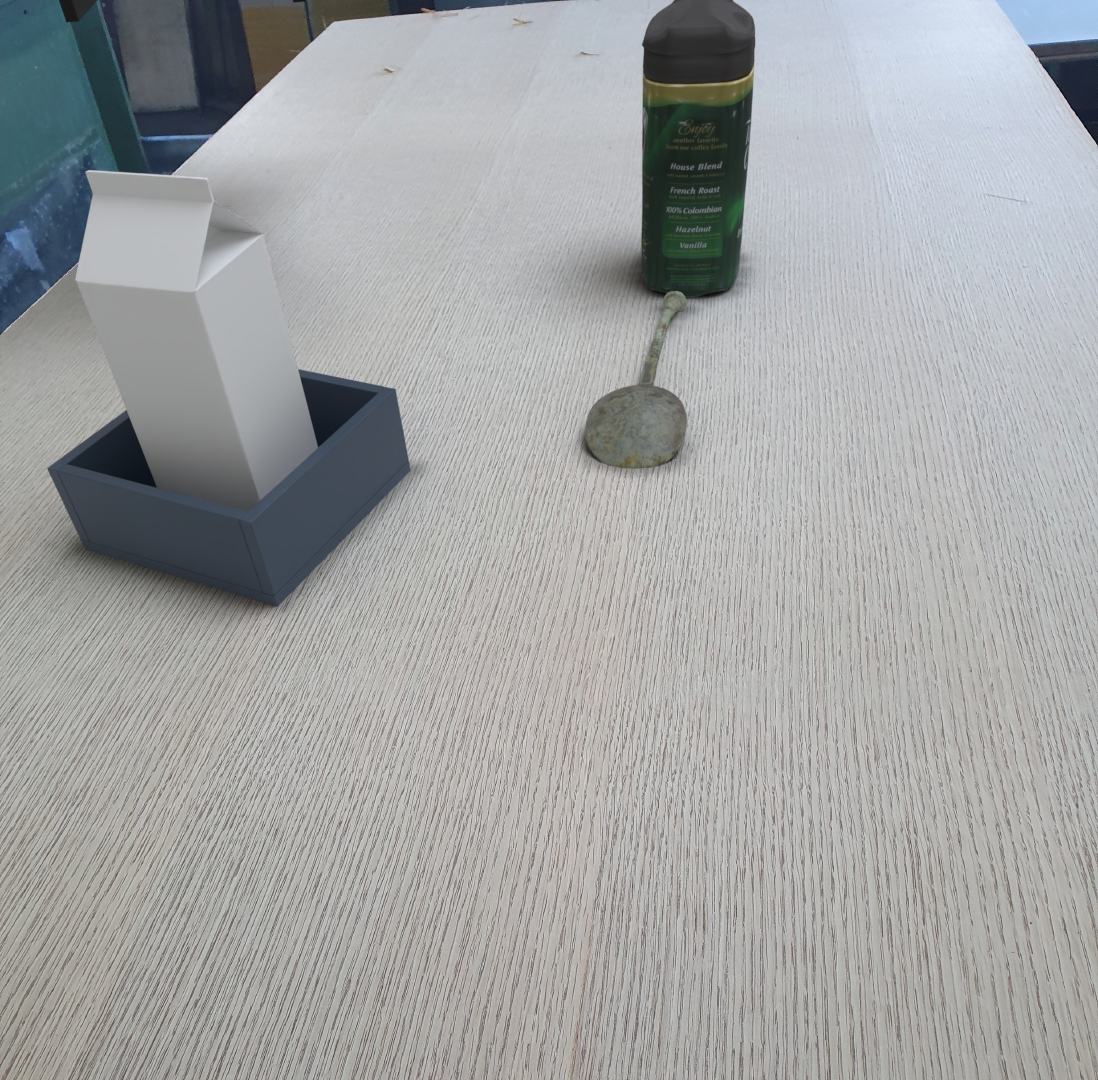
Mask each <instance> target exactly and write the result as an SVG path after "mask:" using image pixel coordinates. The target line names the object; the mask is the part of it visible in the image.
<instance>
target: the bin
mask: <svg viewBox="0 0 1098 1080" xmlns="http://www.w3.org/2000/svg"><path fill="white" fill-rule="evenodd" d="M298 371H299V375H300V379H301V383H302V387H303V391H304V394H305V398H306V402H307V406H308V410H309V414H310V418H311V422H312V426H313V430H314V434H315V438H316V442H317V446H318V448H317V449H316V450H315V451H314V452H313V453H312V454H311V455H310V456H309V457H307V458H306V459H305V460H304V461H303V462H302V463H301V464H300V465H299V466H298V467H296V468H295V469H294V470H293V471H292V472H291V473H290V474H289V475H288V476H287V477H286V478H284V479H283V480H282V481H281V482H280V483H279V484H278V485H277V486H276V487H275V488H273V489H272V490H271V491H270V492H269V493H268V494H267V495H266V496H265V497H264V498H262V499H261V500H260V501H259V502H258V503H257V504H256V505H255V506H254V507H253V508H251V509H250V510H249V511H248V512H246V511H242V510H238V509H235V508H231V507H227V506H223V505H220V504H216V503H212V502H208V501H204V500H201V499H197V498H193V497H189V496H185V495H182V494H178V493H174V492H170V491H167V490H163V489H159V488H157V486H156V484H155V481H154V479H153V476H152V473H151V471H150V468H149V466H148V463H147V461H146V458H145V456H144V453H143V450H142V448H141V445H140V443H139V440H138V438H137V435H136V433H135V430H134V428H133V425H132V422H131V420H130V417H129V415H128V412H127V410H126V409H125V410H124V411H123V412H122V413H120V414H118V415H117V416H116V417H114V418H113V419H112V420H110V421H109V422H108V423H106V424H105V425H104V426H102V427H101V428H100V429H98V430H97V431H95V432H94V433H92V434H91V435H90V436H88V437H87V438H86V439H84V440H83V441H82V442H80V443H79V444H78V445H76V446H75V447H74V448H72V449H71V450H69V451H68V452H67V453H66V454H64V455H63V456H61V457H60V458H59V459H57V460H56V461H54V463H52V464H50V465H49V466H47V471H48V473H49V476H50V478H51V480H52V482H53V484H54V486H55V488H56V491H57V493H58V495H59V498H60V499H61V501H62V504H63V505H64V508H65V510H66V512H67V514H68V516H69V518H70V520H71V523H72V525H73V527H74V529H75V531H76V533H77V535H78V537H79V539H80V541H81V544H82V546H83V548H84V550H86V551H89V552H92V553H96V554H99V555H103V556H106V557H109V558H112V559H116V560H119V561H122V562H126V563H130V564H133V565H136V566H139V567H142V568H146V569H149V570H153V571H155V572H160V573H162V574H166V575H168V576H169V575H170V576H173V577H176V578H180V579H183V580H185V581H186V580H187V581H190V582H193V583H195V584H199V585H203V586H206V587H210V588H213V589H215V590H220V591H223V592H226V593H230V594H234V595H236V596H240V597H243V598H247V599H249V600H254V601H256V602H260V603H262V604H263V603H264V604H267V605H269V606H273V607H280V605H281V604H282V603H283V602H284V601H285V600H286V599H287V598H288V597H289V596H290V595H291V594H292V593H293V592H294V591H295V590H296V589H297V588H298V587H299V586H300V585H301V584H302V583H303V582H304V581H305V580H306V579H307V577H309V576H310V575H311V574H312V573H313V571H314V570H315V569H316V568H317V567H318V566H319V565H320V564H321V563H322V562H323V561H324V560H326V558H327V557H328V556H329V555H330V554H332V552H333V551H334V550H335V549H336V548H337V547H338V546H339V545H340V544H341V543H342V541H344V540H345V539H346V537H348V536H349V535H350V534H351V533H352V531H354V529H355V528H356V527H357V526H359V525H360V524H361V522H362V521H363V520H364V519H365V518H367V516H368V515H369V514H370V513H371V512H372V511H373V510H374V509H375V508H376V507H377V506H378V505H379V504H380V503H381V502H382V501H383V499H385V498H386V497H387V495H389V494H390V493H391V492H392V491H393V489H394V488H396V486H397V485H398V484H399V483H400V482H401V481H402V480H404V478H405V477H406V476H407V475H408V474H409V473H410V472H411V471H412V470H411V466H410V465H411V464H410V460H409V455H408V454H409V453H408V449H407V444H406V437H405V432H404V427H403V421H402V416H401V411H400V406H399V405H400V404H399V401H398V400H399V399H398V394H397V390H396V388H393V387H388V386H384V385H380V384H374V383H370V382H364V381H359V380H354V379H349V378H345V377H340V376H336V375H335V376H334V375H330V374H324V373H319V372H315V371H309V370H305V369H300V368H298Z"/></svg>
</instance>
